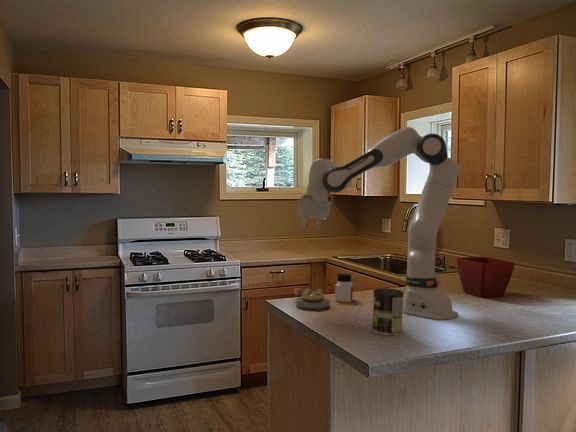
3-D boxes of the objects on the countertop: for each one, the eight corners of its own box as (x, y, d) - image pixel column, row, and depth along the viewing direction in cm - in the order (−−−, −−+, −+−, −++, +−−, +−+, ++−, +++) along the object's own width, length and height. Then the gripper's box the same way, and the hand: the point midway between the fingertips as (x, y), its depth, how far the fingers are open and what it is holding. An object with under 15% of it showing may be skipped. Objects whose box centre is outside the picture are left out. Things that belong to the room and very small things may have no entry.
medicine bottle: (351, 302, 217) (351, 275, 216) (334, 301, 218) (335, 274, 217) (352, 299, 224) (353, 272, 223) (336, 298, 225) (337, 271, 224)
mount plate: (336, 307, 207) (336, 300, 207) (311, 312, 198) (311, 305, 198) (314, 300, 218) (314, 294, 218) (289, 305, 209) (289, 298, 209)
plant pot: (514, 297, 233) (516, 261, 232) (482, 300, 226) (484, 263, 225) (484, 289, 251) (485, 256, 250) (454, 291, 244) (455, 257, 243)
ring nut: (328, 300, 207) (328, 291, 207) (311, 302, 202) (312, 293, 202) (303, 293, 220) (303, 284, 220) (287, 295, 214) (287, 287, 214)
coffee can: (376, 335, 169) (377, 294, 168) (369, 327, 179) (370, 288, 178) (406, 335, 169) (407, 294, 169) (397, 326, 180) (398, 288, 179)
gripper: (307, 195, 203) (302, 228, 204) (334, 198, 219) (329, 228, 221) (295, 193, 207) (290, 225, 208) (323, 196, 223) (318, 226, 224)
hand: (310, 227), depth 215 cm, fingers open, 8 cm apart
